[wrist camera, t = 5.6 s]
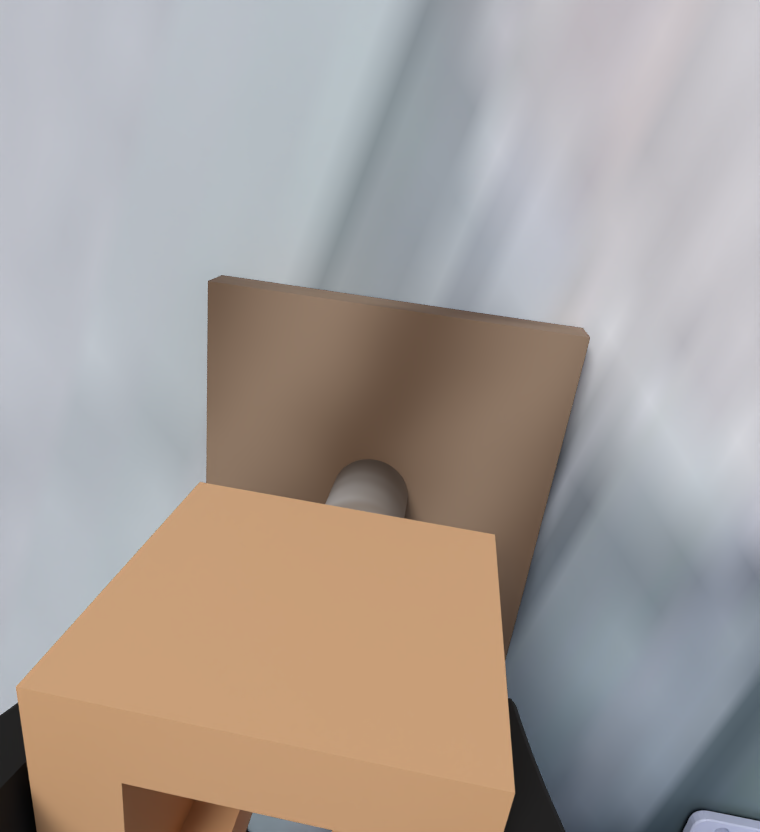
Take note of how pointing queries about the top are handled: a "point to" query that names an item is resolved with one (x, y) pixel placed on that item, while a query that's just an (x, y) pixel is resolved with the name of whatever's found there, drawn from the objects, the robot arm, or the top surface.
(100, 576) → the top surface
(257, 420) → the post base
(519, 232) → the top surface
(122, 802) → the collar
